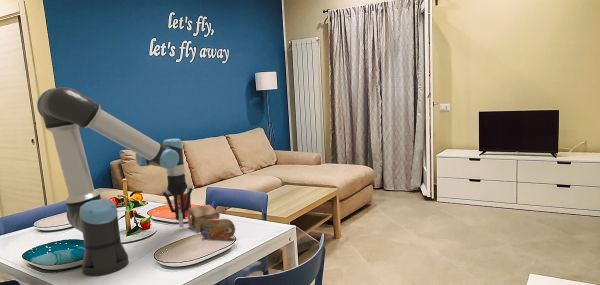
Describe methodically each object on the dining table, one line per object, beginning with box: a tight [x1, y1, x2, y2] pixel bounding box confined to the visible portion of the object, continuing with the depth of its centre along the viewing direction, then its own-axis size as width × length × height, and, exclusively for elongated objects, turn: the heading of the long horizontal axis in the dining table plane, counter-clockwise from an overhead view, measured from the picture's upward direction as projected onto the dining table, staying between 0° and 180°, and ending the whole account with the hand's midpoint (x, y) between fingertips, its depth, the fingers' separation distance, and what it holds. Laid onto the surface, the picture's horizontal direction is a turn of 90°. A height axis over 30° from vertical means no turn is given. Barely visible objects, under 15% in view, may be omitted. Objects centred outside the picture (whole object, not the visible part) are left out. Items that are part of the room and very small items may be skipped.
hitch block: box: [188, 204, 220, 233], centre depth 186 cm, size 10×16×7 cm, turn 26°
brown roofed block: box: [187, 210, 221, 227], centre depth 186 cm, size 14×5×5 cm, turn 116°
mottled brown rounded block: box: [199, 218, 236, 241], centre depth 167 cm, size 15×3×8 cm, turn 73°
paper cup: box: [177, 188, 192, 217], centre depth 200 cm, size 8×8×14 cm
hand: (181, 226), depth 182 cm, fingers closed
